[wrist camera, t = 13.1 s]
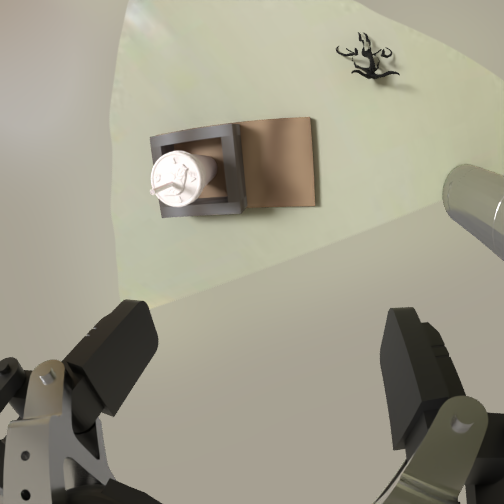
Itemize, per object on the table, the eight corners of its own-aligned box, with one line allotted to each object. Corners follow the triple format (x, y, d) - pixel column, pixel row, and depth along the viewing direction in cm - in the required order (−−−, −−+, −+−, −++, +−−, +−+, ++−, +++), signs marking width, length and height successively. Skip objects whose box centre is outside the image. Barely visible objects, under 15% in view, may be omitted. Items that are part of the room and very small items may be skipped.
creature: (332, 38, 30) (341, 85, 31) (333, 18, 25) (345, 69, 26) (385, 39, 28) (397, 87, 29) (393, 21, 23) (408, 72, 24)
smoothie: (176, 170, 40) (119, 191, 27) (202, 136, 37) (150, 141, 24) (207, 199, 40) (161, 231, 28) (236, 166, 38) (198, 184, 25)
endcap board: (309, 117, 34) (310, 115, 30) (314, 204, 39) (315, 214, 34) (158, 135, 39) (141, 136, 34) (169, 210, 43) (154, 220, 39)
